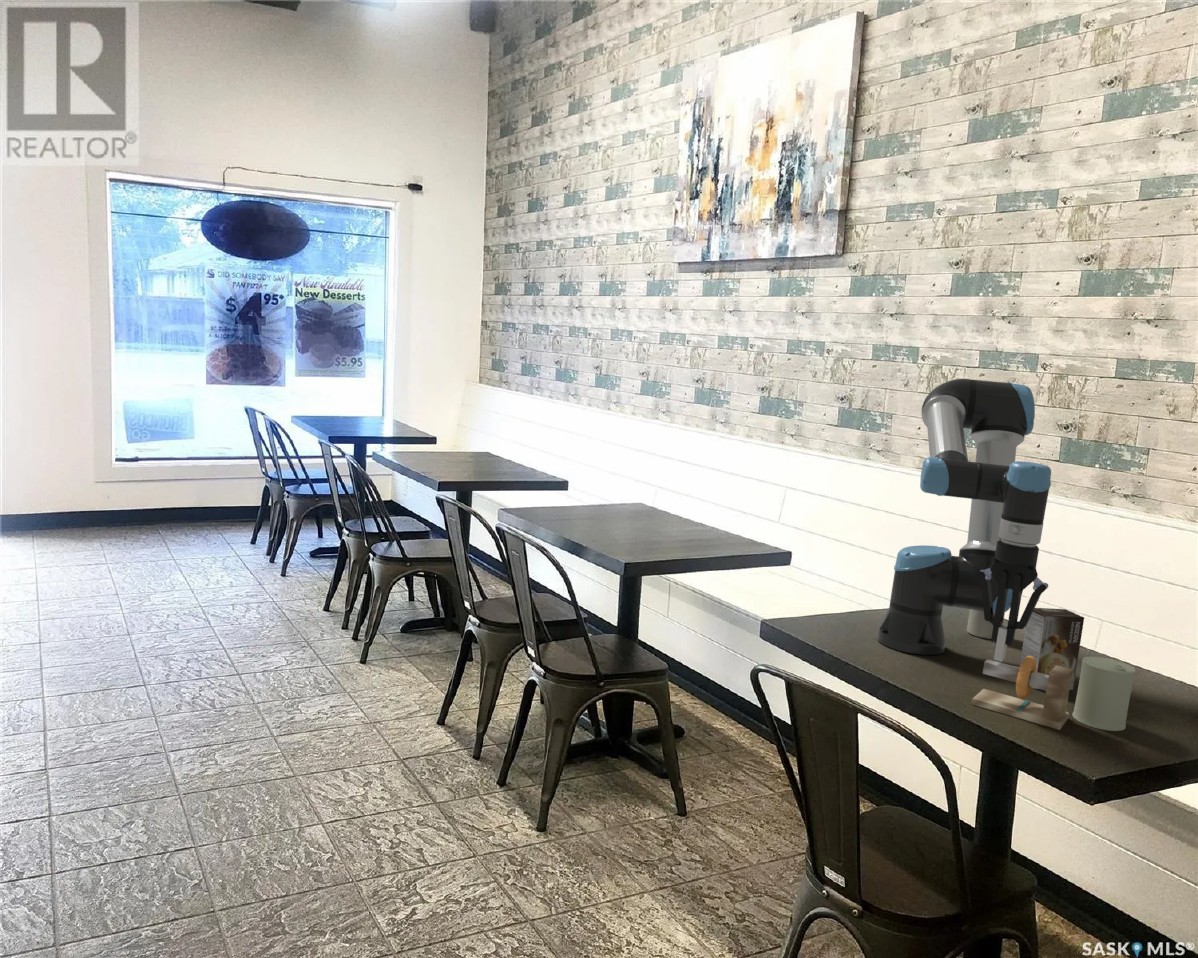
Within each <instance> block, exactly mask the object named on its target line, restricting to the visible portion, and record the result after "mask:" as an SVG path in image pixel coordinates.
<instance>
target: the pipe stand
mask: <svg viewBox="0 0 1198 958" xmlns="http://www.w3.org/2000/svg"><path fill="white" fill-rule="evenodd" d="M1019 669H1020V666H1015V665H1011V664H1006V663H1003V662H1001V661H997V660H994V659H993V660H992V659H989V658H987V659H986V660H985V661H984V663H983V668H982V674H983V675H985V676H986V675H987V676H991V677H994V678H997V679H1001V680H1006V681H1008V682H1013V683H1015V684H1016V683H1017V676H1018V672H1019ZM1072 673H1073V669H1069V668H1065V667H1061V666H1057V665H1056V666H1055V667H1054V668H1053V669H1052V670H1051V671H1050V672H1049V675H1046V674H1042V673H1038V672H1034V671H1031V673H1030V676H1029V681H1028V686H1030V687H1034V688H1038V689H1037V690H1042V691H1045V696H1044V702H1043V704H1040V703H1036V702H1033V701H1031V700H1028V699H1021V698H1019V697H1015V696H1011V695H1008V694H1004V693H1000V692H997V691H994V690H989V689H986V688H982V689H981V690H980V691H979V692H978V693H977V694H976V695H975V696H974V697H972V701H971V705H972V706H975V707H976V706H977V707H978V708H982V709H986V710H990V711H994V712H997V713H1000V714H1002V715H1003V714H1004V715H1006V716H1011V717H1013V718H1018V719H1021V720H1024V721H1027V722H1031V723H1035V724H1036V725H1037V724H1038V725H1041V726H1046V727H1049V728H1052V729H1054V730H1057V731H1058V730H1059V731H1060V730H1061V729H1062V728H1063V726H1064V725H1065V724H1066V723H1067V721H1068V720H1069V718H1070V717H1069V716H1070V712H1068V711H1067V707H1068V701H1069V695H1070V691H1071V690H1070V684H1071V679H1072ZM1034 688H1033V689H1034Z"/></svg>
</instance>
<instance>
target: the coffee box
mask: <svg viewBox="0 0 1198 958" xmlns="http://www.w3.org/2000/svg"><path fill="white" fill-rule="evenodd" d="M1084 620H1085V617H1084V616H1082V615H1080V614H1077V613H1075V612H1073V611H1071V610H1068V609H1066V608H1065V609H1064V608H1050V607H1049V608H1045V607H1035V608H1034V610H1033V613H1032V615H1031V617H1030V619H1029V621H1028V623H1027V625H1026V626H1025V629H1024V630H1025V631H1024V637H1023V642H1022V643H1023V644H1022V648H1021V657H1020V663H1019V667H1020V666H1021V663H1022V661H1023V660H1024V659H1025V658H1026V657H1027V656H1033V657H1034V658H1035V659H1036V667H1037V669H1036V672H1038V673H1042V674H1046V675H1049V672H1050V671H1051V670H1052V669H1053V668H1054V667H1055V666H1056V665H1057V666H1061V667H1065V668H1069V669H1073V673H1072V679H1071V684H1070V690H1069V691H1073V690H1074V684H1075V679H1076V672H1077V665H1078V659H1079V653H1080V647H1081V641H1082V635H1083V629H1084V624H1085V623H1084V622H1085V621H1084ZM1032 689H1034V690H1039V689H1038V688H1034V687H1032Z"/></svg>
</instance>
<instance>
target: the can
mask: <svg viewBox="0 0 1198 958" xmlns="http://www.w3.org/2000/svg"><path fill="white" fill-rule="evenodd" d="M1081 660H1082V661H1081V667H1080V668H1081V669H1080V675H1079V681H1078V688H1077V691H1076V697H1075V703H1074V708H1073V712H1072V717H1073V719H1074V720H1076V721H1078V722H1079V723H1081V724H1083V725H1086V726H1088V727H1091V728H1094V729H1099V730H1102V731H1110V732H1120V731H1124V730H1125V729H1126V726H1127V725H1126V723H1127V717H1128V711H1129V705H1130V699H1131V694H1132V688H1133V684H1134V679H1135V674H1136V671H1137V670H1136V669H1135V668H1134V667H1133V666H1132V665H1130V664H1128V663H1126V662H1123V661H1120V660H1117V659H1114V658H1113V659H1112V658H1109V657H1102V656H1093V655H1092V656H1089V655H1088V656H1084V657H1083V658H1082V659H1081Z"/></svg>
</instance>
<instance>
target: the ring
mask: <svg viewBox="0 0 1198 958" xmlns="http://www.w3.org/2000/svg"><path fill="white" fill-rule="evenodd" d="M1019 668H1020V669H1019V672H1018V676H1017V683H1016V682H1015V690H1016V696H1017V698H1019V699H1022V700H1026V699H1027V698H1028V697H1029V696H1030V694H1031V693H1032V690H1033V688H1032V687H1030V686H1028V681H1029V676H1030V673H1031V671H1034V672H1036V669H1037V667H1036V659H1035V658H1034V657H1033V656H1027V657H1026V658H1025V659H1024V660H1023V661H1022V663H1021V666H1020V665H1019Z"/></svg>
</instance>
